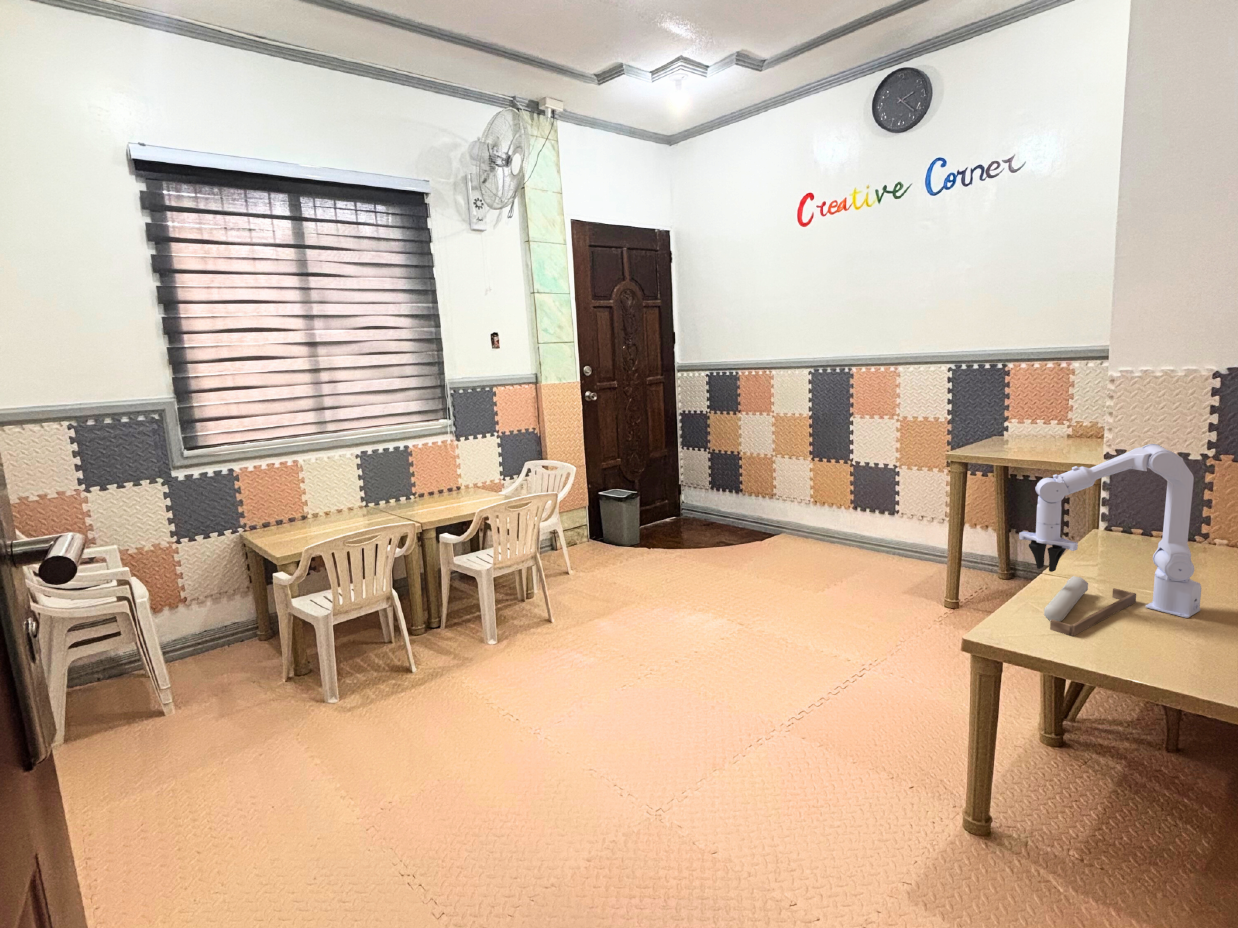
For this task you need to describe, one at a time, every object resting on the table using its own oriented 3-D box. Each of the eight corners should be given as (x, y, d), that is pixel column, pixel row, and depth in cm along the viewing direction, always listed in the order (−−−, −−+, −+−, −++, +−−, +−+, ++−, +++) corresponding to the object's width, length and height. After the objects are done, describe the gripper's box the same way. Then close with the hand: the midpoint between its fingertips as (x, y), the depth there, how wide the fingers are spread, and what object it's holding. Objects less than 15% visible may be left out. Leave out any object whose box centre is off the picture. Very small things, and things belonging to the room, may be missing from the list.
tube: (1067, 612, 181) (1091, 582, 198) (1045, 601, 184) (1071, 572, 201) (1059, 629, 183) (1083, 597, 200) (1037, 618, 186) (1063, 588, 203)
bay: (1135, 602, 192) (1136, 593, 192) (1072, 636, 176) (1073, 626, 175) (1113, 596, 197) (1114, 587, 196) (1050, 629, 181) (1050, 620, 180)
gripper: (1013, 519, 197) (1012, 566, 199) (1068, 530, 184) (1066, 579, 187) (1027, 514, 200) (1026, 560, 203) (1082, 525, 188) (1080, 573, 191)
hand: (1046, 569), depth 195 cm, fingers open, 3 cm apart
